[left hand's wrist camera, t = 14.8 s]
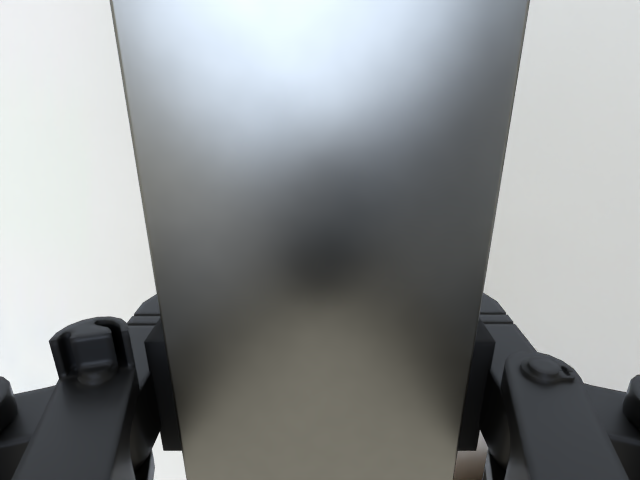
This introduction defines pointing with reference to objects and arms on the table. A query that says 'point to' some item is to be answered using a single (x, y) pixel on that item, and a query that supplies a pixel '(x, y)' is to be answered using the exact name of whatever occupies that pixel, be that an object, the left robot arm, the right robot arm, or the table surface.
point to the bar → (319, 222)
